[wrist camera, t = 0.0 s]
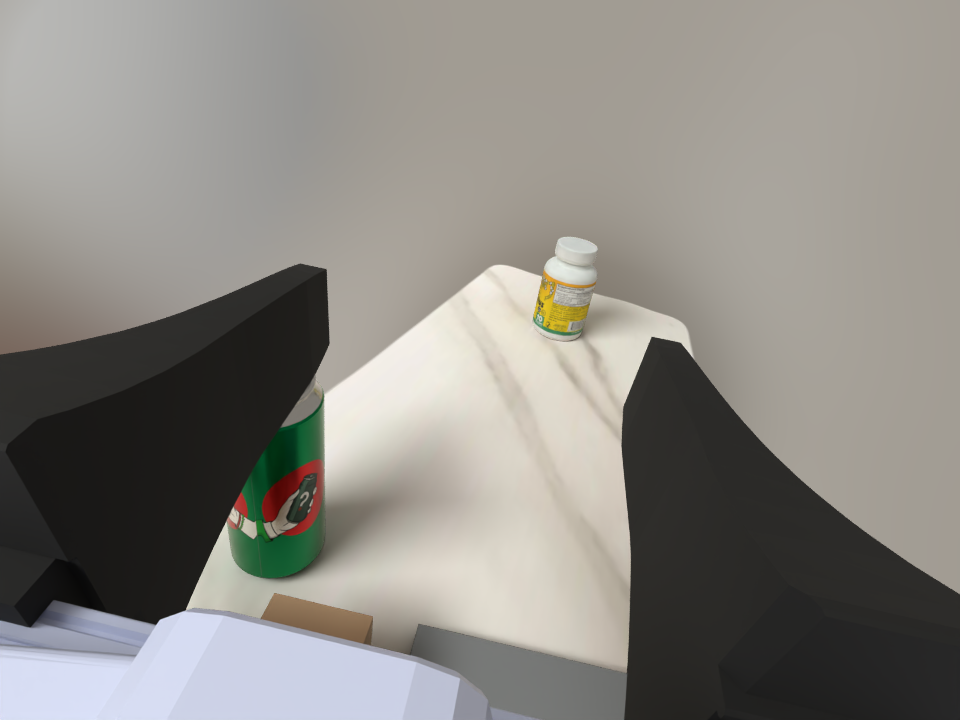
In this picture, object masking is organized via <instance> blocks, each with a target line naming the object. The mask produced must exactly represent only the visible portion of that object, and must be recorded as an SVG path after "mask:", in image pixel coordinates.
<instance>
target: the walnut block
mask: <svg viewBox="0 0 960 720" xmlns="http://www.w3.org/2000/svg"><path fill="white" fill-rule="evenodd" d="M261 619H263V620H267V621H271V622H275V623H279V624H283V625H287V626H292V627H296V628H300V629H304V630H308V631H312V632H316V633H321V634H325V635H329V636H333V637H337V638H341V639H345V640H350V641H354V642H358V643H362V644H366V645H370V646H371V636H372V623H373V616H369V615H364V614H360V613H356V612H352V611H348V610H344V609H339V608H335V607H331V606H327V605H323V604H318V603H314V602H310V601H306V600H302V599H298V598H293V597H289V596H285V595H281V594H277V593H274V595H273V597H272V599H271V600H270V602H269V604H268V606H267V608H266V610H265V612H264V614H263V615H262V617H261Z"/></svg>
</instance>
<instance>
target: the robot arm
mask: <svg viewBox="0 0 960 720" xmlns="http://www.w3.org/2000/svg"><path fill="white" fill-rule="evenodd" d="M327 295H328V293H327V270H326V269H323V268H318V267H314V266H309V265H304V264H298V265H295V266H292V267H289V268H287V269H284V270H282V271H279V272H277V273H275V274H273V275H270V276H268V277H266V278H263V279H261V280H259V281H257V282H254V283H252V284H250V285H248V286H245V287H243V288H241V289H239V290H236V291H234V292H232V293H229V294H227V295H225V296H222V297H220V298H217V299H215V300H212V301H209V302H207V303H204V304H202V305H199V306H197V307H194V308H191V309H189V310H187V311H184V312H181V313H178V314H176V315H173V316H170V317H167V318H164V319H161V320H158V321H155V322H151V323H148V324H144V325H141V326H138V327H135V328H131V329H127V330H124V331H120V332H116V333H112V334H107V335H103V336H98V337H94V338H90V339H86V340H81V341H76V342H72V343H68V344H63V345H57V346H52V347H46V348H40V349H35V350H29V351H23V352H15V353H9V354H2V355H0V720H542V719H538V718H534V717H530V716H526V715H521V714H517V713H513V712H509V711H505V710H501V709H497V708H493V707H490V706H489V702H488V699H487V698H486V696H485V695H484V694H483V692H482V691H481V690H480V689H479V688H477V687H476V686H475V685H474V684H472V683H471V682H470V681H468V680H467V679H466V678H464V677H463V676H462V675H461V674H459V673H458V672H457V671H454V670H451V669H449V668H446V667H443V666H441V665H438V664H435V663H433V662H430V661H427V660H425V659H422V658H419V657H416V656H412V655H407V654H403V653H399V652H395V651H391V650H387V649H383V648H378V647H374V646H370V645H366V644H362V643H358V642H354V641H350V640H345V639H341V638H337V637H333V636H329V635H325V634H321V633H316V632H312V631H308V630H304V629H300V628H296V627H292V626H287V625H283V624H279V623H275V622H271V621H267V620H263V619H259V618H254V617H250V616H246V615H242V614H238V613H234V612H229V611H219V610H210V609H200V608H192V609H189V610H186V608H187V605H188V603H189V601H190V598H191V596H192V594H193V591H194V589H195V587H196V585H197V582H198V580H199V578H200V576H201V574H202V572H203V569H204V567H205V565H206V563H207V561H208V558H209V556H210V554H211V552H212V550H213V547H214V545H215V543H216V541H217V539H218V537H219V535H220V533H221V531H222V529H223V527H224V525H225V523H226V521H227V519H228V517H229V515H230V513H231V511H232V509H233V507H234V505H235V503H236V501H237V499H238V497H239V495H240V493H241V491H242V489H243V487H244V486H245V484H246V482H247V480H248V478H249V476H250V474H251V472H252V470H253V468H254V467H255V465H256V464H257V462H258V460H259V459H260V457H261V455H262V454H263V452H264V451H265V449H266V448H267V446H268V445H269V443H270V442H271V440H272V439H273V437H274V436H275V435H276V433H277V432H278V430H279V429H280V427H281V426H282V424H283V423H284V421H285V420H286V418H287V417H288V415H289V414H290V413H291V411H292V410H293V408H294V407H295V405H296V404H297V402H298V401H299V399H300V398H301V396H302V395H303V393H304V392H305V390H306V389H307V387H308V386H309V384H310V383H311V381H312V379H313V378H314V376H315V374H316V372H317V370H318V367H319V366H320V364H321V361H322V359H323V357H324V355H325V353H326V350H327V348H328V346H329V319H328V296H327ZM622 458H623V469H624V479H625V490H626V500H627V510H628V520H629V530H630V546H631V586H630V622H629V648H628V666H627V684H626V701H625V714H624V720H960V594H958V593H957V592H955V591H954V590H952V589H950V588H948V587H947V586H945V585H944V584H942V583H941V582H939V581H937V580H936V579H934V578H933V577H931V576H929V575H928V574H926V573H925V572H923V571H921V570H920V569H918V568H916V567H915V566H913V565H912V564H910V563H909V562H907V561H906V560H904V559H903V558H901V557H900V556H899V555H897V554H896V553H894V552H893V551H891V550H890V549H889V548H887V547H886V546H884V545H883V544H881V543H880V542H879V541H877V540H876V539H874V538H873V537H871V536H870V535H869V534H867V533H866V532H864V531H863V530H862V529H860V528H859V527H858V526H857V525H855V524H854V523H852V522H851V521H850V520H849V519H847V518H846V517H845V516H844V515H842V514H841V513H839V511H837V510H836V509H835V508H834V507H832V506H831V505H830V504H829V503H827V502H826V501H825V500H824V499H822V498H821V497H820V496H819V495H818V494H816V493H815V492H814V491H813V490H812V489H811V488H809V487H808V486H807V485H806V484H805V483H804V482H802V481H801V480H800V479H799V478H798V477H797V476H796V475H795V474H794V473H793V472H792V471H791V470H790V469H789V468H787V467H786V466H785V465H784V464H783V463H782V462H781V461H780V460H779V459H778V458H777V457H776V456H775V455H774V454H773V453H772V452H771V451H770V450H769V449H768V448H767V447H766V446H765V445H764V444H763V443H762V442H761V441H760V440H759V439H758V438H757V437H756V435H755V434H754V433H753V432H752V431H751V430H750V429H749V428H748V427H747V425H746V424H745V423H744V422H743V421H742V420H741V419H740V417H739V416H738V415H737V414H736V413H735V412H734V410H733V409H732V408H731V407H730V406H729V404H728V403H727V402H726V401H725V399H724V398H723V397H722V396H721V395H720V393H719V392H718V391H717V389H716V388H715V387H714V385H713V384H712V383H711V382H710V380H709V379H708V378H707V376H706V375H705V374H704V372H703V371H702V370H701V369H700V367H699V366H698V364H697V363H696V362H695V360H694V359H693V358H692V356H691V355H690V354H689V353H688V351H687V350H686V349H685V348H684V346H683V345H682V344H681V343H679V342H675V341H670V340H665V339H660V338H655V337H652V338H651V340H650V343H649V345H648V347H647V350H646V352H645V355H644V357H643V360H642V362H641V365H640V367H639V370H638V372H637V375H636V377H635V380H634V382H633V385H632V387H631V390H630V392H629V394H628V397H627V399H626V402H625V404H624V407H623V424H622ZM185 610H186V611H185Z"/></svg>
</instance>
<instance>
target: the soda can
mask: <svg viewBox="0 0 960 720" xmlns="http://www.w3.org/2000/svg"><path fill="white" fill-rule="evenodd" d="M227 526H228V533H229V540H230V546H231V552H232V556H233V559H234V561H235V562H236V564H237V565H238V566H239V567H240V568H241V569H242V570H243V571H245V572H247V573H248V574H251V575H253V576H257V577H261V578H279V577H284V576H288V575H291V574H293V573H296V572H298V571H300V570H302V569H303V568H305V567H306V566H308V565H309V564H310V563H311V562H312V561H313V560H314V559H315V558H316V557H317V556H318V554H319V553H320V551H321V549H322V547H323V544H324V540H325V449H324V392H323V389H322V387H321V385H320V384H319V383H318V381H317V380H316V376H314V378H313V379H312V381H311V383H310V384H309V386H308V387H307V389H306V390H305V392H304V393H303V395H302V396H301V398H300V399H299V401H298V402H297V404H296V405H295V407H294V408H293V410H292V411H291V413H290V414H289V415H288V417H287V418H286V420H285V421H284V423H283V424H282V426H281V427H280V429H279V430H278V432H277V433H276V435H275V436H274V437H273V439H272V440H271V442H270V443H269V445H268V446H267V448H266V449H265V451H264V452H263V454H262V455H261V457H260V459H259V460H258V462H257V464H256V465H255V467H254V468H253V470H252V472H251V474H250V476H249V478H248V480H247V482H246V484H245V486H244V487H243V489H242V491H241V493H240V495H239V497H238V499H237V501H236V503H235V505H234V507H233V509H232V511H231V513H230V515H229V517H228V519H227Z"/></svg>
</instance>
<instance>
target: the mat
mask: <svg viewBox="0 0 960 720" xmlns="http://www.w3.org/2000/svg"><path fill="white" fill-rule="evenodd" d="M410 655H412V656H416V657H419V658H422V659H425V660H427V661H430V662H433V663H435V664H438V665H441V666H443V667H446V668H449V669H451V670H454V671H457V672H458V673H459V674H461V675H462V676H463V677H464V678H466V679H467V680H468V681H470V682H471V683H472V684H474V685H475V686H476V687H477V688H479V689H480V690H481V691H482V692H483V694H484V695H485V696H486V698H487V699H488V702H489V706H490V707H493V708H497V709H501V710H505V711H509V712H513V713H517V714H521V715H526V716H530V717H534V718H538V719H542V720H624V714H625V701H626V684H627V673H623V672H619V671H614V670H610V669H606V668H602V667H598V666H593V665H589V664H585V663H581V662H577V661H573V660H568V659H564V658H560V657H556V656H552V655H547V654H543V653H539V652H535V651H531V650H526V649H522V648H518V647H514V646H510V645H506V644H501V643H497V642H493V641H489V640H485V639H480V638H476V637H472V636H468V635H464V634H459V633H455V632H451V631H447V630H443V629H439V628H434V627H430V626H426V625H422V624H418V628H417V632H416V636H415V639H414V643H413V647H412V651H411V654H410Z"/></svg>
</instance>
